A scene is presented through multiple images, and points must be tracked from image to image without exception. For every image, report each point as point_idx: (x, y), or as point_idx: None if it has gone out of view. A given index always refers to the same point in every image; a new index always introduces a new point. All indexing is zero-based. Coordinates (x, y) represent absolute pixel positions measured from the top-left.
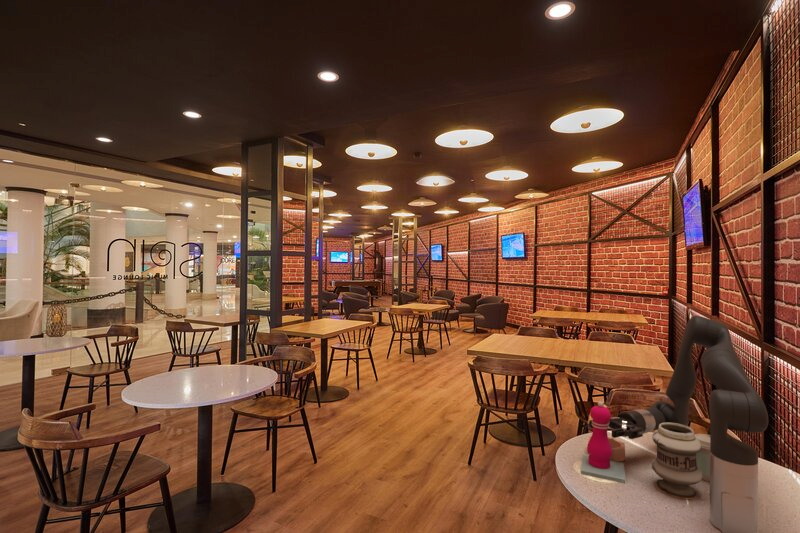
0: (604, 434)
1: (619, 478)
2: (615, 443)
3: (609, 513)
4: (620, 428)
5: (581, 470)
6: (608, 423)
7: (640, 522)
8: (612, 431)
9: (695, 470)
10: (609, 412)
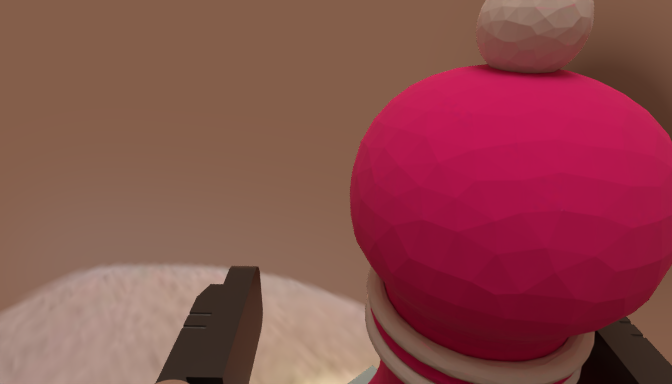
0: (381, 367)
1: None
2: None
3: (143, 272)
4: (214, 374)
5: (371, 367)
6: (402, 328)
7: (42, 304)
8: (249, 271)
9: None
10: (388, 151)
